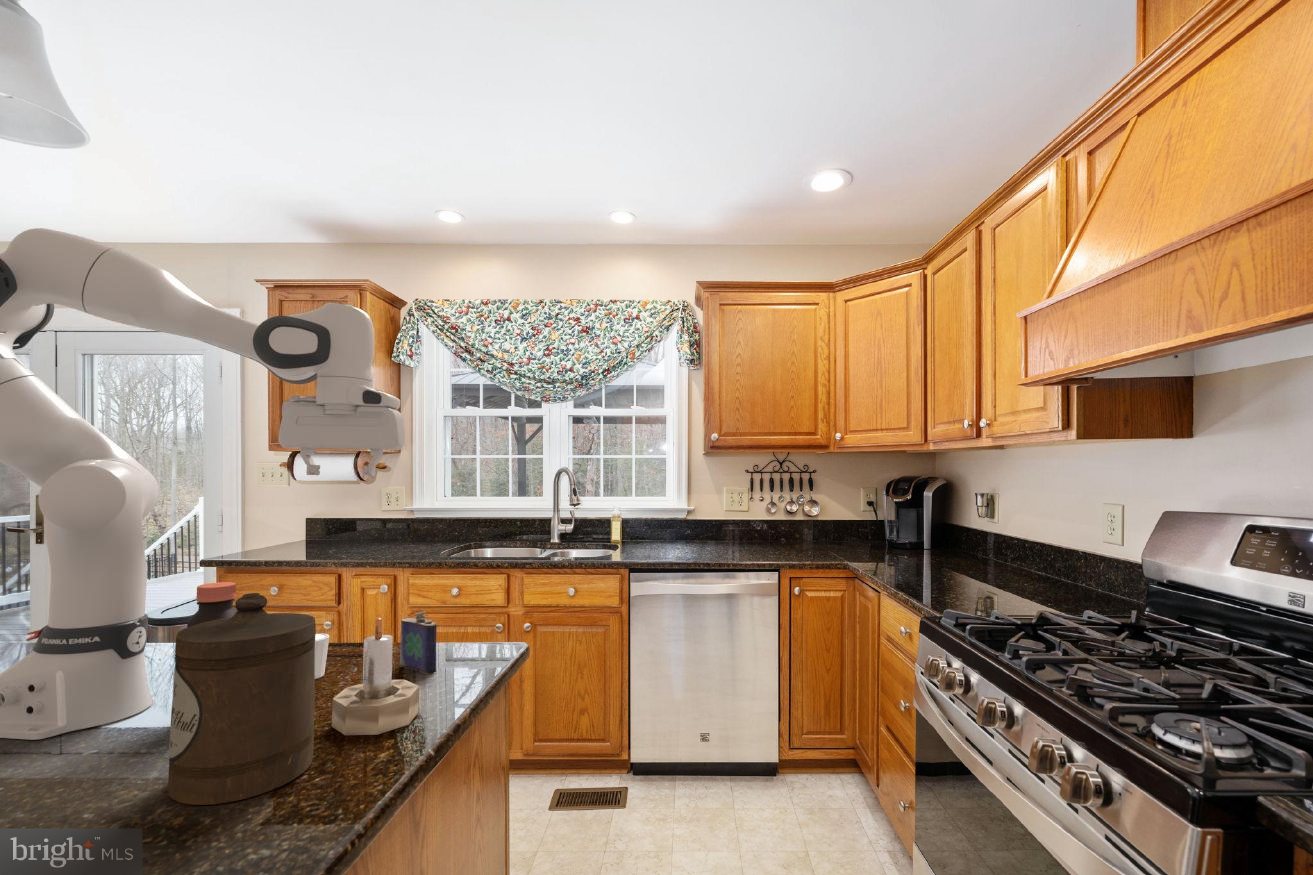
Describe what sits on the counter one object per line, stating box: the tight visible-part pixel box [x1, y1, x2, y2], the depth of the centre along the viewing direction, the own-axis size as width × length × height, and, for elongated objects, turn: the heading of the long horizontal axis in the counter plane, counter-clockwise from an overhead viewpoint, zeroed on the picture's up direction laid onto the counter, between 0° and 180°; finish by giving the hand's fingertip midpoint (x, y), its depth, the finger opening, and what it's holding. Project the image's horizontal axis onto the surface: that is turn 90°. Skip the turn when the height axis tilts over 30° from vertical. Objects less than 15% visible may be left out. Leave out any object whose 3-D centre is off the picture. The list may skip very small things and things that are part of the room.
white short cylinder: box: [315, 632, 330, 680], centre depth 111 cm, size 7×7×7 cm
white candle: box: [362, 617, 394, 700], centre depth 92 cm, size 4×4×15 cm
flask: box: [399, 610, 438, 675], centre depth 116 cm, size 9×3×11 cm, turn 58°
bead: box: [331, 679, 420, 736], centre depth 92 cm, size 11×11×4 cm
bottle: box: [186, 581, 238, 628], centre depth 92 cm, size 7×7×20 cm
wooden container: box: [167, 592, 317, 806], centre depth 75 cm, size 15×15×22 cm
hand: (341, 475), depth 105 cm, fingers open, 8 cm apart
